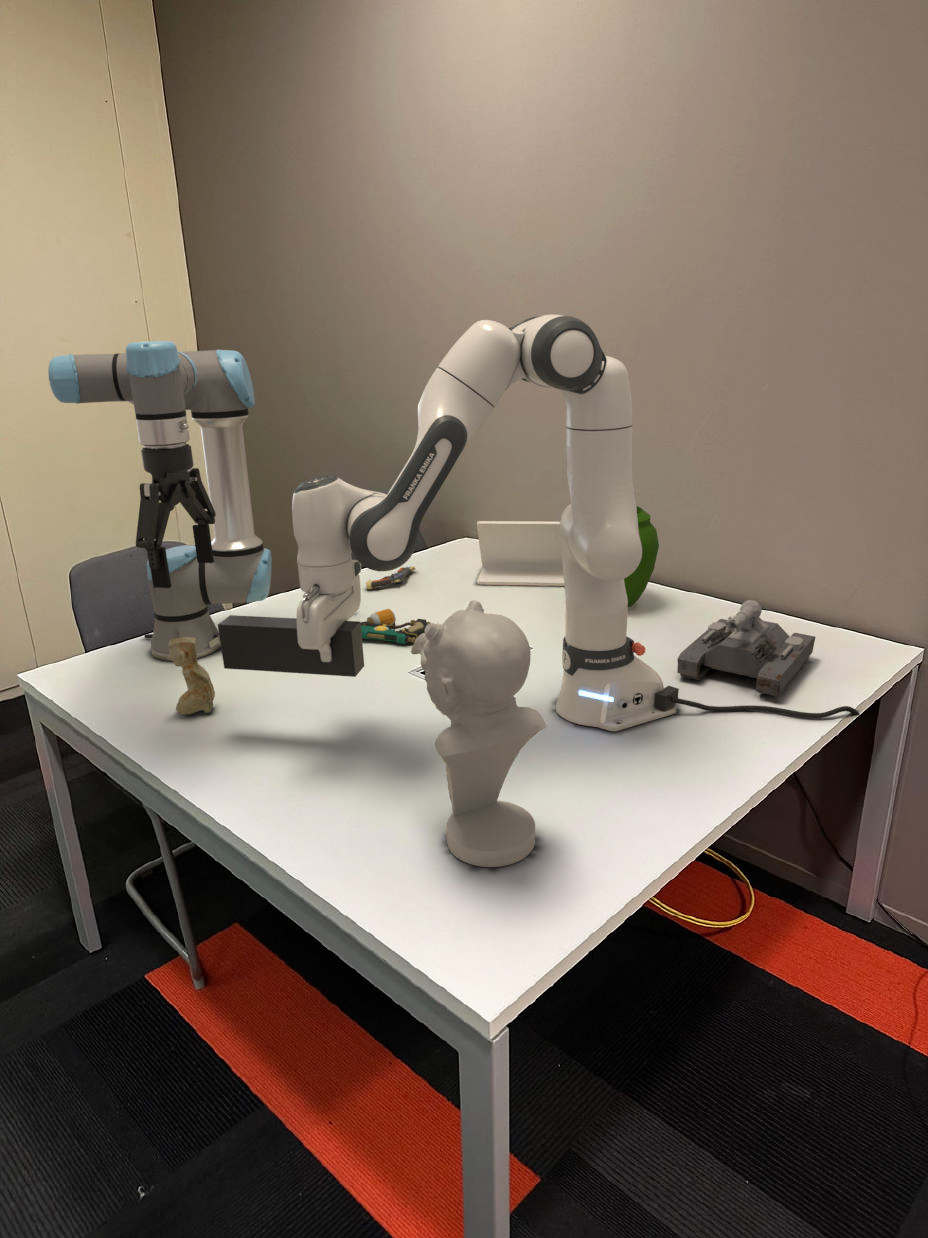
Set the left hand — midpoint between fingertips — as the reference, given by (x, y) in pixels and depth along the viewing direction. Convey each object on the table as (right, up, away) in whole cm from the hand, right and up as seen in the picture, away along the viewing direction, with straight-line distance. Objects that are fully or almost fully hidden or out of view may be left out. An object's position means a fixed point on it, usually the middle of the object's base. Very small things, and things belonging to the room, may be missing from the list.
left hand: (185, 574), depth 141 cm
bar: (+17, -16, +7) cm, 24 cm away
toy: (+104, -18, +35) cm, 111 cm away
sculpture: (-5, -25, +24) cm, 35 cm away
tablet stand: (+63, +5, +98) cm, 117 cm away
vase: (+84, -4, +73) cm, 112 cm away
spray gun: (+29, -11, +58) cm, 66 cm away
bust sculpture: (+47, -39, -16) cm, 63 cm away
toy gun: (+26, +3, +97) cm, 100 cm away
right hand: (+24, -13, +4) cm, 28 cm away
